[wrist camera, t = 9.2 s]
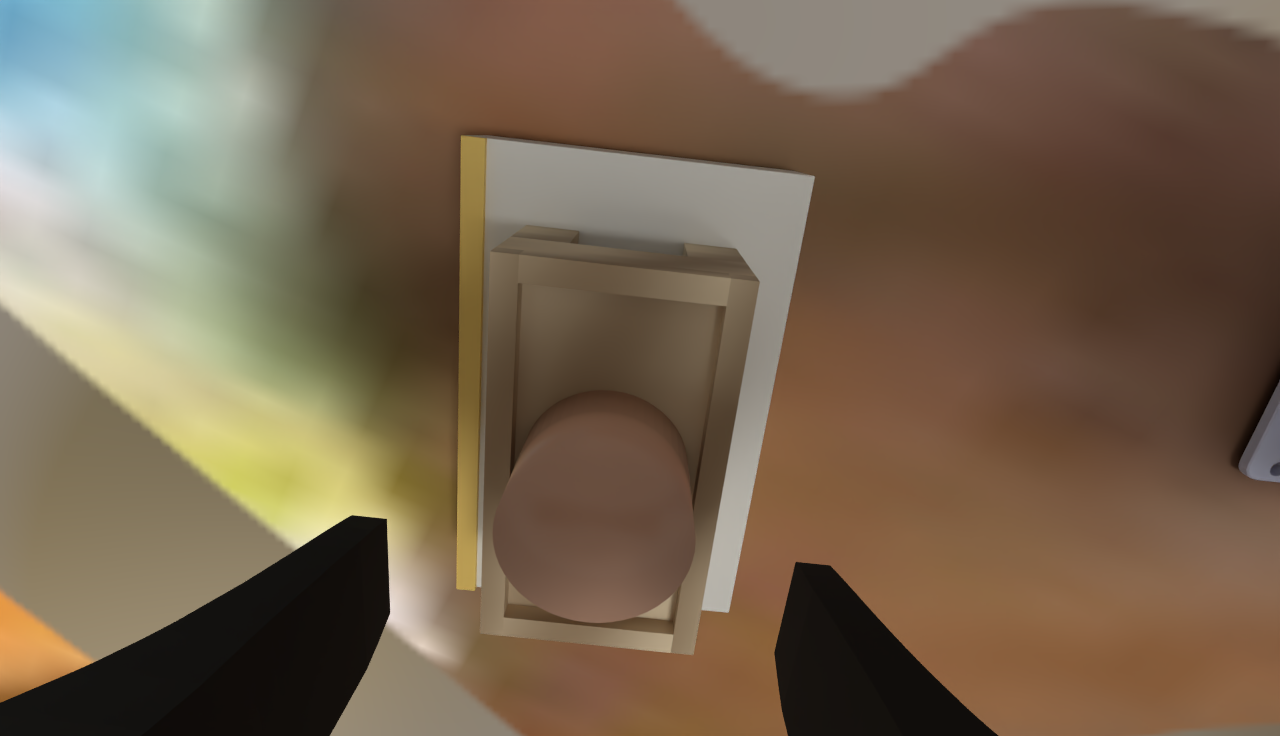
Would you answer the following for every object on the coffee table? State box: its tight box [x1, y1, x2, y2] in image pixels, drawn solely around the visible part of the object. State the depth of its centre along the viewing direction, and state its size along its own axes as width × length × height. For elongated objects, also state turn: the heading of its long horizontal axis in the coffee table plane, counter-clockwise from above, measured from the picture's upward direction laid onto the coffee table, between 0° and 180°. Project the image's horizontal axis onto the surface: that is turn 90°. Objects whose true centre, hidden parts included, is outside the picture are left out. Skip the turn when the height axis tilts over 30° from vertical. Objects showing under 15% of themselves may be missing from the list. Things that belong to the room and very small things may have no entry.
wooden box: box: [480, 225, 760, 655], centre depth 17 cm, size 6×10×4 cm, turn 174°
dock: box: [457, 135, 815, 613], centre depth 20 cm, size 9×14×3 cm, turn 174°
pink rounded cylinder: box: [492, 390, 696, 623], centre depth 14 cm, size 4×4×3 cm
